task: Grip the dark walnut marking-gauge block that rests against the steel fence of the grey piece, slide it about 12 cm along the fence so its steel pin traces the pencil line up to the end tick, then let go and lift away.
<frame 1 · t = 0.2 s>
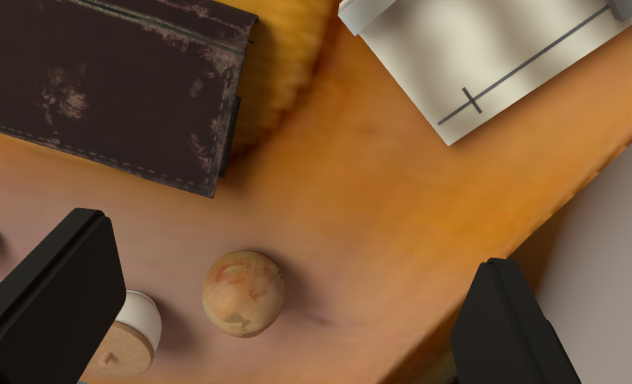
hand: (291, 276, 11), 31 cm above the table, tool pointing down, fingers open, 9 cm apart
onion: (252, 263, 53), on the table
lidded jar: (136, 304, 58), on the table
diary: (117, 65, 40), on the table
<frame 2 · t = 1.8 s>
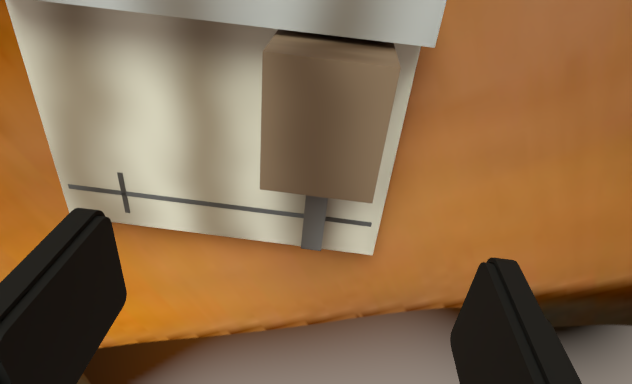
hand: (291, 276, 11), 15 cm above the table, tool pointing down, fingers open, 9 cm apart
gauge: (320, 167, 20), point 5 cm above the table, slide at 0.0 cm
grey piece: (227, 106, 25), on the table
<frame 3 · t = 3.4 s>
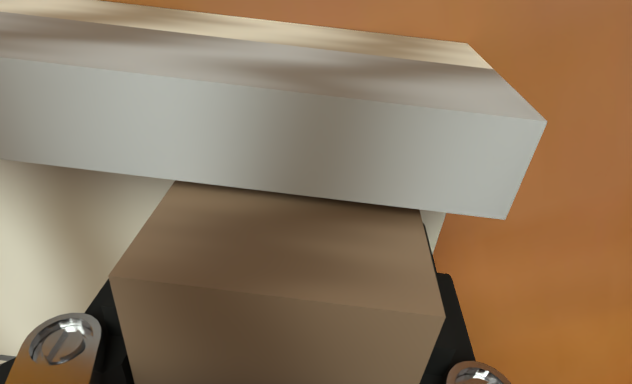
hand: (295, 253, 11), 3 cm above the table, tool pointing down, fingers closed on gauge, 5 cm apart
gauge: (280, 379, 11), point 5 cm above the table, slide at 0.0 cm, touching gripper
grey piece: (145, 228, 16), on the table
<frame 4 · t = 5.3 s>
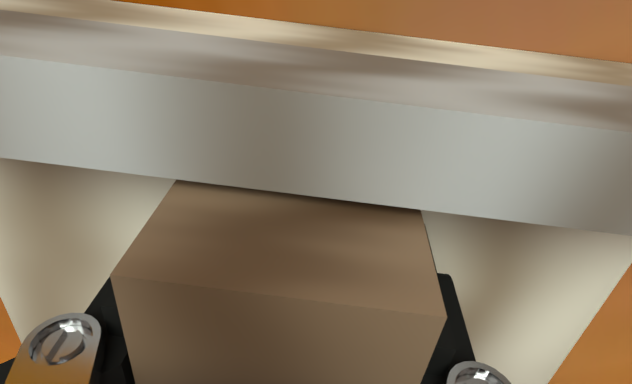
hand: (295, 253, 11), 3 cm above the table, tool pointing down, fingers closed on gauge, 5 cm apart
gauge: (280, 379, 11), point 5 cm above the table, slide at 5.6 cm, touching gripper
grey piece: (290, 245, 16), on the table
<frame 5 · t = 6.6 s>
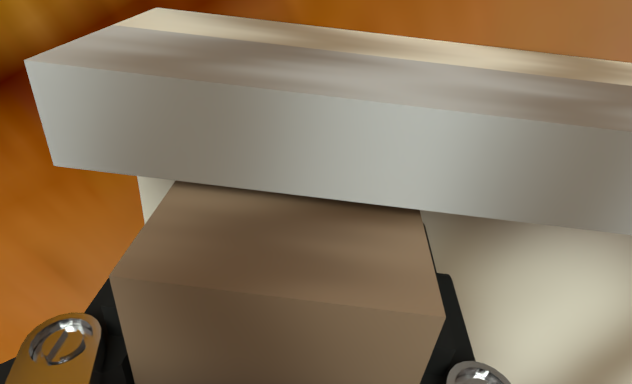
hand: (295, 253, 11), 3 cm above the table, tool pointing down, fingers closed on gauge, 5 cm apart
gauge: (280, 380, 11), point 5 cm above the table, slide at 11.3 cm, touching gripper
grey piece: (440, 264, 16), on the table
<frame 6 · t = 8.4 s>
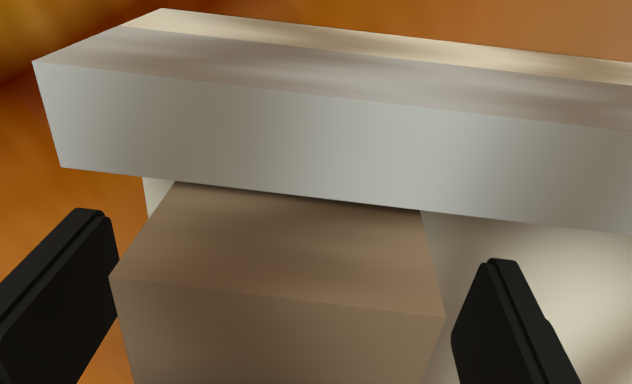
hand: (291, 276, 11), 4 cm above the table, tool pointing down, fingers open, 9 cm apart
gauge: (280, 380, 11), point 5 cm above the table, slide at 11.5 cm
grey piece: (444, 265, 16), on the table
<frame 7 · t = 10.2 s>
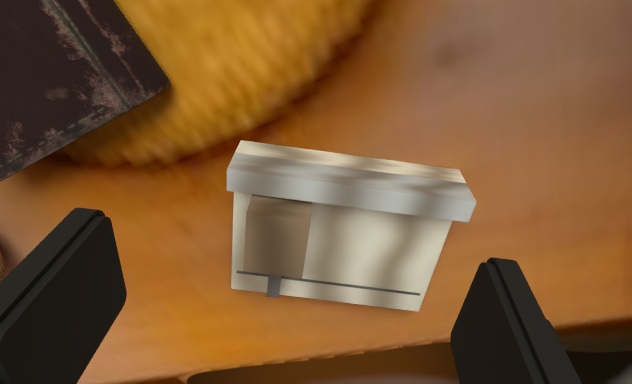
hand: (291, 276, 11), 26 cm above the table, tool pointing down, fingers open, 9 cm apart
gauge: (276, 255, 37), point 5 cm above the table, slide at 11.5 cm
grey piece: (337, 225, 41), on the table
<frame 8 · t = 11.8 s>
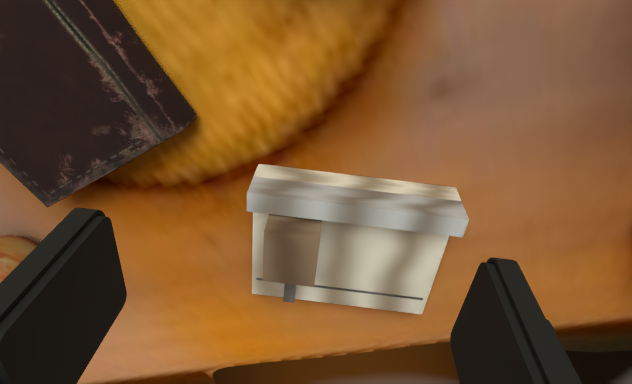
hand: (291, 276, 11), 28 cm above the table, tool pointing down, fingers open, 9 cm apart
gauge: (291, 266, 41), point 5 cm above the table, slide at 11.5 cm
onion: (30, 249, 51), on the table
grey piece: (346, 237, 46), on the table
diary: (37, 38, 37), on the table
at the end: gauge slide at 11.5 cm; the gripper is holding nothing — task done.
